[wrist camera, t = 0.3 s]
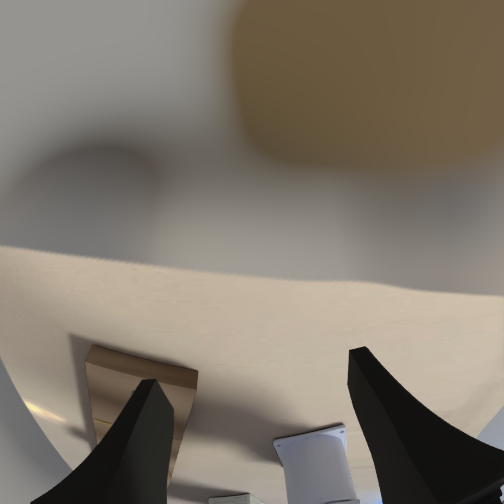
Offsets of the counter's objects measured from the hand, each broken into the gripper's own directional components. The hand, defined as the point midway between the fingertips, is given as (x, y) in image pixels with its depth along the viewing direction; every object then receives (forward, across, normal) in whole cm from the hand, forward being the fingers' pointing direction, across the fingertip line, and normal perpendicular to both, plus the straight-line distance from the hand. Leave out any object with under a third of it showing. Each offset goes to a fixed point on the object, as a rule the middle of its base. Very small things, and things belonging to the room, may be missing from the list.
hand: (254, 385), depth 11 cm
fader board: (+10, +16, +19) cm, 27 cm away
